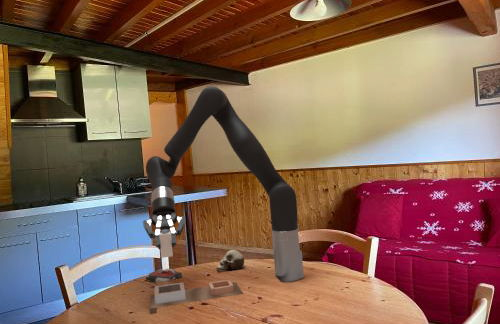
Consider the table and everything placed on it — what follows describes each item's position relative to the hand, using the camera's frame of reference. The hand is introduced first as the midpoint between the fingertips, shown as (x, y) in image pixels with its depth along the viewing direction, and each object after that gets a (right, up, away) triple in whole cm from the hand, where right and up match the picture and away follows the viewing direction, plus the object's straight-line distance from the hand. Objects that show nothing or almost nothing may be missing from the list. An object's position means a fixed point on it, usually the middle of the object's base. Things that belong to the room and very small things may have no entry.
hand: (166, 246), depth 115 cm
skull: (+18, -17, +34) cm, 43 cm away
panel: (+9, -17, +4) cm, 20 cm away
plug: (0, -3, +2) cm, 4 cm away
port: (+1, -16, +2) cm, 17 cm away
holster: (+16, -15, +6) cm, 23 cm away
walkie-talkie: (-4, -19, +24) cm, 31 cm away
